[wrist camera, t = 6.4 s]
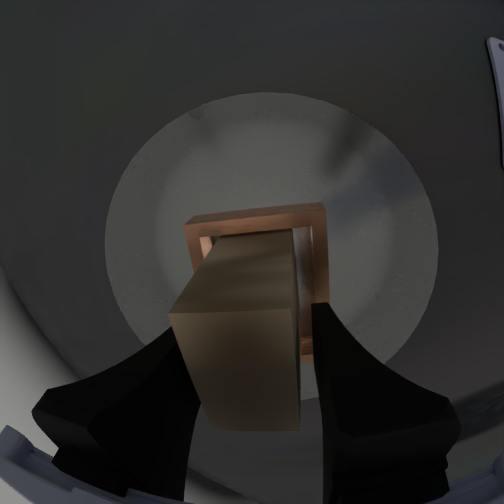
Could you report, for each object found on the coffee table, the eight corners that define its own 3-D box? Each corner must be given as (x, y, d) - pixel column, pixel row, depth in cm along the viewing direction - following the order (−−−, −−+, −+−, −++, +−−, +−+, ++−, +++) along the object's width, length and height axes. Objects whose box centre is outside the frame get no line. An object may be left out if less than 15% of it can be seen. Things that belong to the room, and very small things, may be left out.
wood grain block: (291, 221, 13) (290, 308, 6) (300, 315, 15) (300, 430, 8) (225, 228, 13) (167, 313, 7) (242, 319, 15) (212, 429, 9)
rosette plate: (426, 90, 10) (450, 84, 8) (407, 376, 17) (416, 402, 15) (85, 140, 13) (56, 144, 11) (163, 387, 20) (152, 411, 18)
